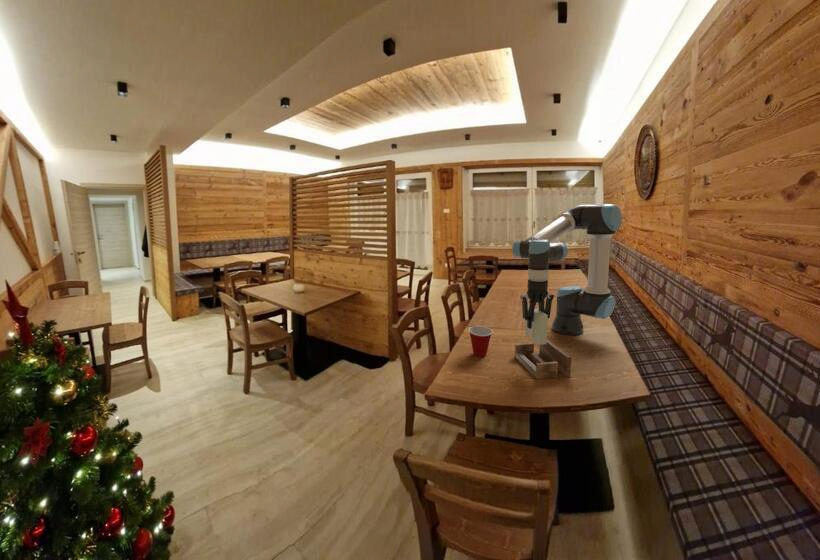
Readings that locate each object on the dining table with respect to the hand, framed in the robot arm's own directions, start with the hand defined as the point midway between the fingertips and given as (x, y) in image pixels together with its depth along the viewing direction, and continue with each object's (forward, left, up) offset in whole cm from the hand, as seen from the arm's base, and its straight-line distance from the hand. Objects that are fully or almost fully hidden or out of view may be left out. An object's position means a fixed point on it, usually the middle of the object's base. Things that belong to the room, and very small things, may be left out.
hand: (535, 335), depth 141 cm
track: (-3, 0, -14) cm, 14 cm away
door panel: (0, 0, -2) cm, 2 cm away
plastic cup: (+18, -16, -14) cm, 28 cm away
